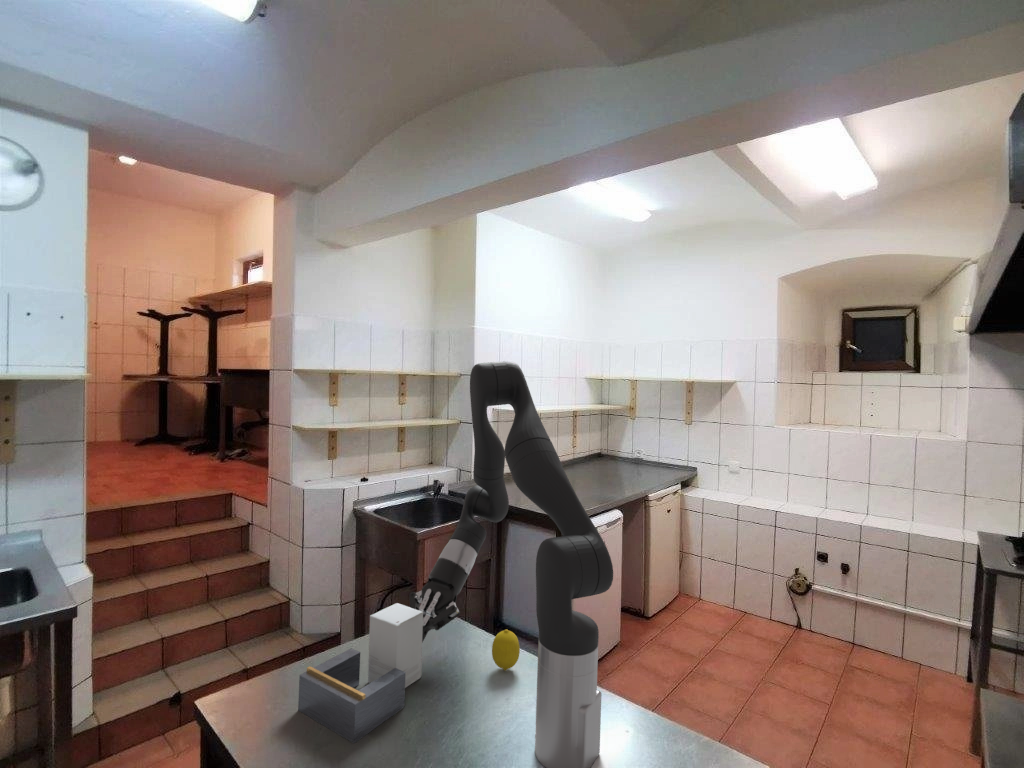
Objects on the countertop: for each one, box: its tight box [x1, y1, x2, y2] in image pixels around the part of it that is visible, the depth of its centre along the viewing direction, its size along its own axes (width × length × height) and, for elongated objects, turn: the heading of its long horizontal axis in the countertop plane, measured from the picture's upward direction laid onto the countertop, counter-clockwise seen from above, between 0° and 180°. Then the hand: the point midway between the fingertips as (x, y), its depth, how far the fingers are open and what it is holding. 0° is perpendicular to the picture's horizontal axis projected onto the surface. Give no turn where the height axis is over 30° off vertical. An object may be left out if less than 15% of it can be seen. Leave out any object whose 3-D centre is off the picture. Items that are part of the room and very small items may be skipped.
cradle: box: [297, 647, 406, 744], centre depth 86 cm, size 14×11×7 cm
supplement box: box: [367, 602, 423, 689], centre depth 95 cm, size 7×7×13 cm
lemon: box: [491, 629, 521, 672], centre depth 100 cm, size 6×6×8 cm
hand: (412, 645), depth 99 cm, fingers closed
